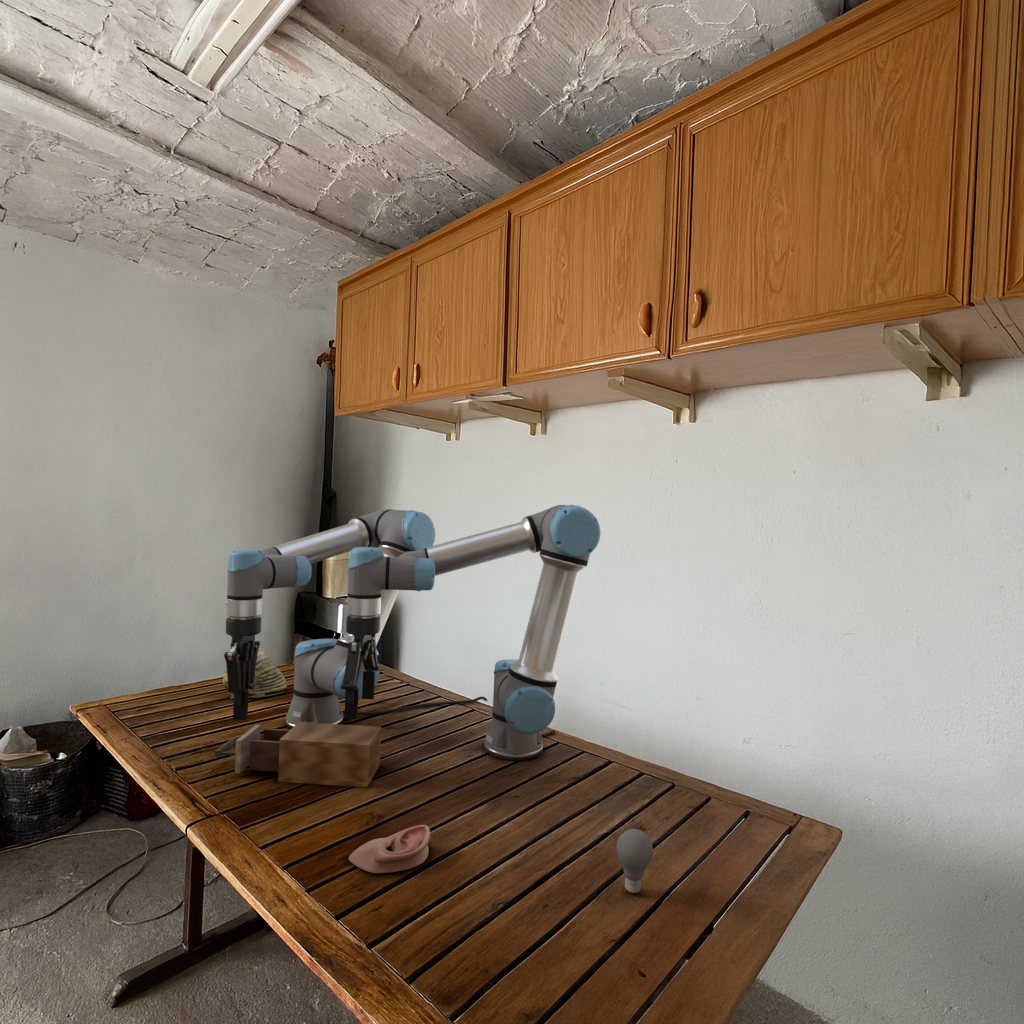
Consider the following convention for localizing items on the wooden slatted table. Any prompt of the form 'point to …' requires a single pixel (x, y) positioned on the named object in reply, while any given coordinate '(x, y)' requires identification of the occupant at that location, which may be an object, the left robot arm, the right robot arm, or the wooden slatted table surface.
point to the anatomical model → (393, 851)
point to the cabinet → (329, 754)
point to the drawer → (255, 749)
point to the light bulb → (634, 857)
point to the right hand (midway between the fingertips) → (359, 708)
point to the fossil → (263, 678)
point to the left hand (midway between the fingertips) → (240, 718)
